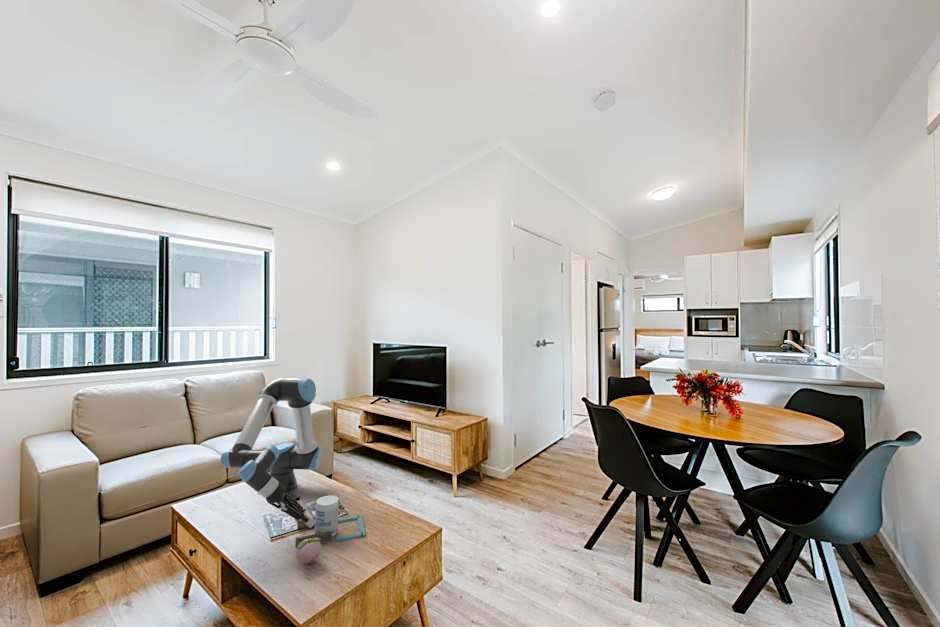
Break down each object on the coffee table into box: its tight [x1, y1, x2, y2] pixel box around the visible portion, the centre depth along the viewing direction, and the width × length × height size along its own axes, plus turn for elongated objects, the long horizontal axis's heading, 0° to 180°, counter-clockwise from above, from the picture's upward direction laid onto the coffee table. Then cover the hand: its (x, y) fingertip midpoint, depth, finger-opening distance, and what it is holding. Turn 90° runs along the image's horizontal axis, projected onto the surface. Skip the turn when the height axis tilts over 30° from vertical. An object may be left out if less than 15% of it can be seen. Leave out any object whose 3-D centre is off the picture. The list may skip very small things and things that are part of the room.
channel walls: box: [294, 516, 333, 549], centre depth 171 cm, size 16×14×4 cm
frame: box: [335, 514, 366, 542], centre depth 176 cm, size 17×12×1 cm
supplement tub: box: [314, 495, 340, 537], centre depth 172 cm, size 10×10×15 cm
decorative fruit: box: [295, 537, 322, 565], centre depth 151 cm, size 9×8×10 cm
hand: (313, 524), depth 168 cm, fingers closed
